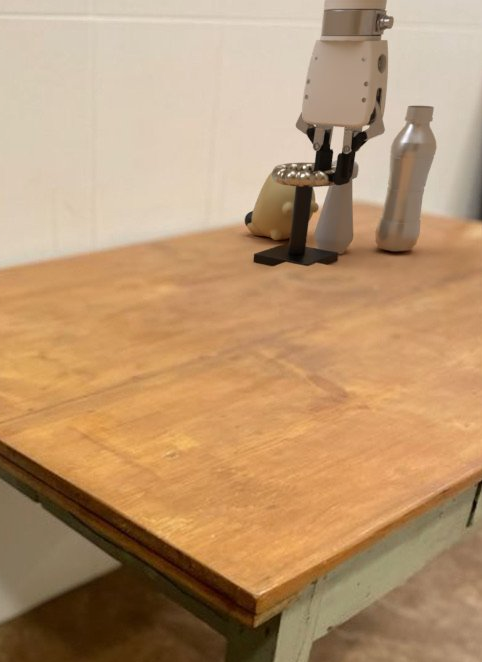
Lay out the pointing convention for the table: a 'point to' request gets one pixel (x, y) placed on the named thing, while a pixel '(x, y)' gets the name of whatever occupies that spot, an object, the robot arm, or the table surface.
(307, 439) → the table surface
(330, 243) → the salt shaker
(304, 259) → the stand
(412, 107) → the silver metal bottle
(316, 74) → the robot arm
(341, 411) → the table surface
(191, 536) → the table surface
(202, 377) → the table surface
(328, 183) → the beaded metal ring
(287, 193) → the toy pig
